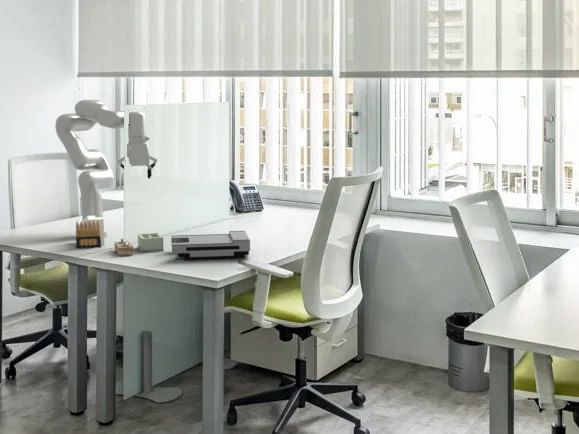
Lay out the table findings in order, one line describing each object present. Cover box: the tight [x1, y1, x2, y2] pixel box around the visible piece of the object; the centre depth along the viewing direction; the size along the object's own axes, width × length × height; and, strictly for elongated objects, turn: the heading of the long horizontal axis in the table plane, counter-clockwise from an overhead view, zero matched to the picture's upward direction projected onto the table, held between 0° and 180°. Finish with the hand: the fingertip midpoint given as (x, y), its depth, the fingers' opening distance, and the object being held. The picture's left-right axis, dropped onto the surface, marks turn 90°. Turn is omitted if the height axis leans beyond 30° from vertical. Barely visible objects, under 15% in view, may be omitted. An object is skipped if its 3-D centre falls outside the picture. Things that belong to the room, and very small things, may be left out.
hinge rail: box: [119, 238, 134, 257], centre depth 322 cm, size 13×5×5 cm, turn 22°
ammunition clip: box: [75, 220, 102, 249], centre depth 332 cm, size 11×2×12 cm, turn 105°
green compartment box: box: [137, 232, 164, 253], centre depth 329 cm, size 11×9×6 cm
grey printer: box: [170, 230, 251, 262], centre depth 319 cm, size 21×32×8 cm, turn 99°
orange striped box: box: [78, 216, 105, 246], centre depth 340 cm, size 11×11×12 cm
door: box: [114, 240, 135, 256], centre depth 323 cm, size 13×6×3 cm, turn 21°
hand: (138, 178), depth 334 cm, fingers open, 9 cm apart
